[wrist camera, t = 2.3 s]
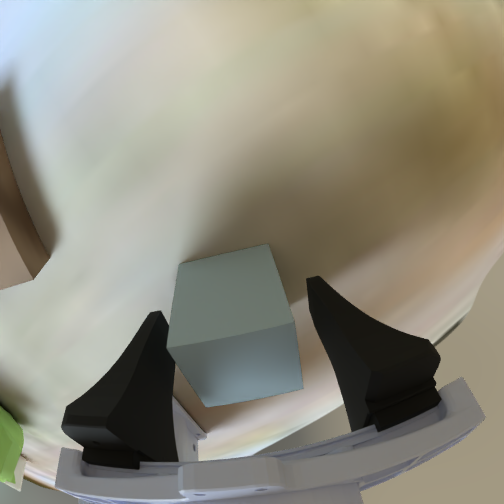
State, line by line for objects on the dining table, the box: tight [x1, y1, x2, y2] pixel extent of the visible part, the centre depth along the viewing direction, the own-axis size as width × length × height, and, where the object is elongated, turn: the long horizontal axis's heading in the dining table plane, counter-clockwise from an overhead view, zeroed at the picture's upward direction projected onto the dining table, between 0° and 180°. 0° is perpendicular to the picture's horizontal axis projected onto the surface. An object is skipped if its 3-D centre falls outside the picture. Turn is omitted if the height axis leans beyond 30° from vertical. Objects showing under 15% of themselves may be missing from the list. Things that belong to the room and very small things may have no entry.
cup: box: [4, 455, 26, 491], centre depth 30 cm, size 8×12×10 cm
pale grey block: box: [167, 244, 303, 407], centre depth 13 cm, size 4×4×6 cm
